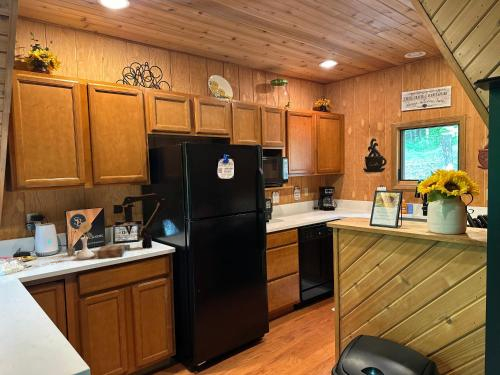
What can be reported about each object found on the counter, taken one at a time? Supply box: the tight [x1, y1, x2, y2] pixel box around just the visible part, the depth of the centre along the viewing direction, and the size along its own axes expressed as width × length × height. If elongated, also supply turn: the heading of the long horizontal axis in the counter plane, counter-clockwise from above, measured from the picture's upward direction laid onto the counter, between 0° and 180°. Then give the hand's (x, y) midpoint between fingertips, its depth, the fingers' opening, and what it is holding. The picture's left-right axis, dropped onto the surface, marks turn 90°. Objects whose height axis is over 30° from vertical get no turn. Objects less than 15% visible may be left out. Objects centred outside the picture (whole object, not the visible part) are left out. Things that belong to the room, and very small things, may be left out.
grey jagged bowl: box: [120, 243, 126, 257], centre depth 234 cm, size 14×14×6 cm
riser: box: [125, 244, 131, 252], centre depth 249 cm, size 4×4×4 cm
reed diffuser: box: [62, 226, 80, 256], centre depth 239 cm, size 10×7×20 cm
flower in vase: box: [75, 220, 96, 260], centre depth 227 cm, size 13×11×25 cm
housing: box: [97, 244, 123, 260], centre depth 234 cm, size 14×14×5 cm
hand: (129, 234), depth 249 cm, fingers closed
